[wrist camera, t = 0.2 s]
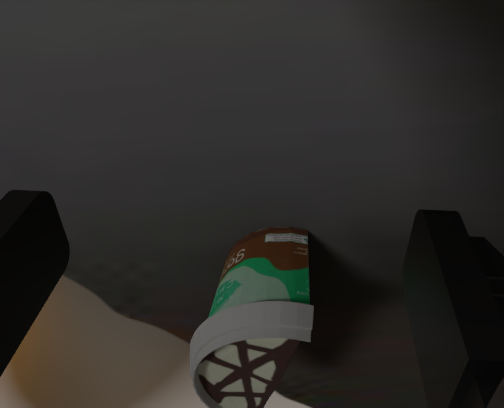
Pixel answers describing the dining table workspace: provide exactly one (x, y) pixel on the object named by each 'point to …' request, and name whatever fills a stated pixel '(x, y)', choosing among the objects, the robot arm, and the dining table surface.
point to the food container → (254, 320)
